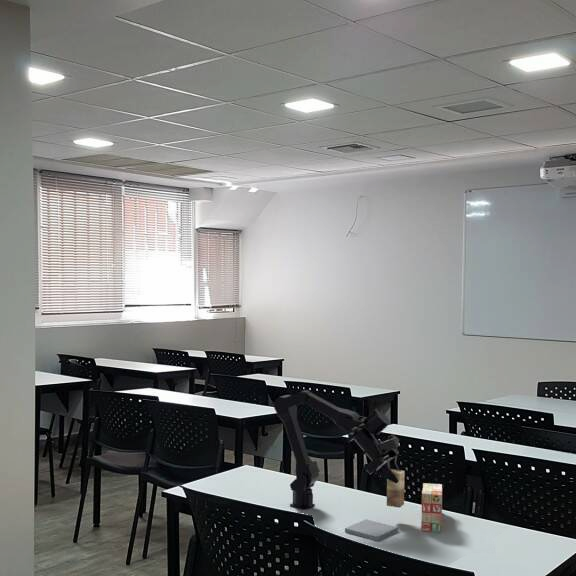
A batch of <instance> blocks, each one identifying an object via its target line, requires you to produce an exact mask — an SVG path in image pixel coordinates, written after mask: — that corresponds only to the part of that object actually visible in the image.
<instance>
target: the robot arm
mask: <svg viewBox="0 0 576 576" xmlns="http://www.w3.org/2000/svg"><path fill="white" fill-rule="evenodd" d="M301 404H305V405H306V406H308V407H310V408H311V409H314V410H316V411H318V412H319V413H320V414H323V415H324V416H327V417H328V418H330V419H331V420H332V421H333V422H334V424H335V425H336V426H338V427H339V428H340V429H342V430H343V431H345V432H349V431H353V430H354V431H353V432H349V433H347V442H348V443H350V442H352V441H353V440H354V441H355V443H357V446H359V447H360V448H361V450H363V451H362V454H363V455H364V456H365V455H366V456H367V457H368V458H369V459H370V460H371V461H370V462H368V464H367V465H366V466H365V471H366V472H367V473H368V475H371V474H373V473H374V474H375V475H379V476H381V477H382V478H384V479H386V480H387V479H388V480H390V481H392V482H394V483H398V479H397V478H396V476H395V475H394V473H393V471H392V470H391V469H394V470H400V468H399V466H398V464H397V459H398V454H399V453H400V451H399V450H398V447H401V445H400V438H398V436H395V435H394V434H391V435H389V436H388V437H387V440H385V441H382V440H381V439H376V437H375V436H374V435H376V436H377V435H380V434H381V433H382V432H383V431H384V430H385V429H386V428H387V427H388V426H389V425H390V423H391V421H390V418H389V417H388V416H387V415H386V414H384V413H383V412H382V411H380V410H378V408H376V409H373V410H372V411H371V412H370V414H369V415H368V416H367V417H366V416H361V415H359V413H358V412H356V411H352V410H351V409H346V408H341V407H338V406H336V405H334V404H333V403H331V402H329V401H327V400H325V399H324V398H321V397H320V396H318V395H316V394H314V393H313V392H311V391H310V390H301V391H300V392H298V393H295V394H293V395H291V394H286V395H282V396H278V397H276V399H275V400H274V402H273V408H274V410H275V412H276V415H277V417H278V418H279V419H280V420H281V421H282V423H283V424H284V428H285V432H286V434H287V438H288V440H289V444H290V447H291V449H292V453H293V456H294V460H295V469H294V471H295V477H296V478H295V479H294V480H293V481H291V483H290V484H289V486H290V490H291V491H292V503H290V504H289V506H290V507H292V508H297V509H301V510H306V509H308V508H313V507H314V506H316V504H315V503H314V494H313V488H312V487H314V486H315V483H316V482H317V481H318V480H319V477H320V474H319V473H320V472H321V470H320V468H318V462H317V461H316V460H311V458H310V457H309V454H308V451H307V448H306V444H305V440H304V437H303V435H302V430H301V428H300V426H299V422H298V419H297V415H298V405H301ZM359 427H361V428H359Z"/></svg>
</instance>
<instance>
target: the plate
mask: <svg viewBox="0 0 576 576" xmlns="http://www.w3.org/2000/svg"><path fill="white" fill-rule="evenodd" d="M344 532H345V533H347V534H351V535H355V536H359V537H361V538H366V539H370V540H372V541H381V540H382V539H385V538H386V537H389V536H391V535H393V534H395V533H397V532H399V527H398V526H395V525H390V524H386V523H382V522H379V521H374V520H370V519H366V518H365V519H364V520H361V521H358V522H356V523H354V524H352V525H349V526H346V527H345V528H344Z"/></svg>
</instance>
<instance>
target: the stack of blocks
mask: <svg viewBox="0 0 576 576" xmlns="http://www.w3.org/2000/svg"><path fill="white" fill-rule="evenodd" d="M442 521H443V485H442V483H441V484H440V483H429V482H428V483H426V482H425V483H424V482H423V483H422V490H421V522H420V523H421V525H420V526H421V528H420V529H421V530H420V531H421V532H427V533H428V532H430V533H439V534H440V533H442V528H443V527H442V525H443V522H442Z"/></svg>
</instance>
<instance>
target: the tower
mask: <svg viewBox="0 0 576 576" xmlns="http://www.w3.org/2000/svg"><path fill="white" fill-rule="evenodd" d="M391 470H392V471H393V473H394V475H395V476H396V478H397V479H398V483H394V482H392V481H390V480H388V479H386V506H388V507H394V508H399V509H400V508H401V507H403V506H404V505H405V470H402V469H401V470H400V469H399V470H394V469H391Z"/></svg>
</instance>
